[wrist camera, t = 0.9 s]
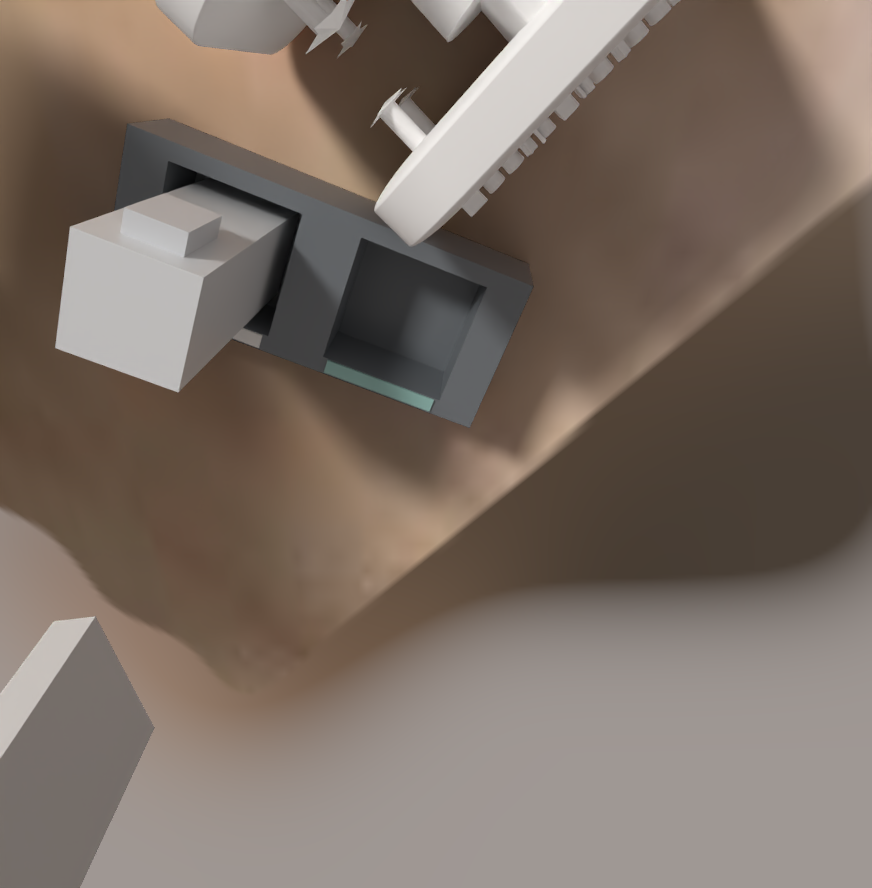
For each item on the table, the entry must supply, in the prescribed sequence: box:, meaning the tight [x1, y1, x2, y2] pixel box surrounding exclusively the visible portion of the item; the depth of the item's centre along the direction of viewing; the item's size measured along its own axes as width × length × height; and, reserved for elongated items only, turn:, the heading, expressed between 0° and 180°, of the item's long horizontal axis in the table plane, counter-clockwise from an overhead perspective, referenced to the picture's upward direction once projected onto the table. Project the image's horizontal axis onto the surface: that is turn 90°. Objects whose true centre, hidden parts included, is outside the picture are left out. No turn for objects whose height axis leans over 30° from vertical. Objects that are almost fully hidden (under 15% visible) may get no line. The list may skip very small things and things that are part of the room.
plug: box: [55, 178, 299, 392], centre depth 27 cm, size 4×5×12 cm
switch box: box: [114, 119, 534, 428], centre depth 31 cm, size 17×7×4 cm, turn 69°
